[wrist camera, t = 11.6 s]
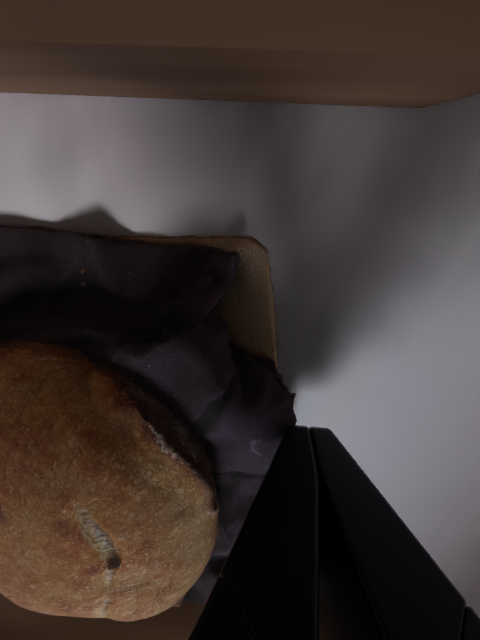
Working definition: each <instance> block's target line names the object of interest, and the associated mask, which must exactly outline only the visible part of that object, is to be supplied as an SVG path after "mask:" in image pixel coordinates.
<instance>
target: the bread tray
mask: <svg viewBox="0 0 480 640" xmlns="http://www.w3.org/2000/svg"><path fill="white" fill-rule="evenodd" d="M0 92H8V93H35V94H61V95H88V96H115V97H141V98H168V99H195V100H221V101H248V102H275V103H301V104H328V105H355V106H381V107H408V108H424V107H427V106H431V105H435V104H439V103H443V102H447V101H451V100H455V99H459V98H463V97H467V96H471V95H475V94H479V93H480V0H0ZM204 606H205V605H199V604H196V603H194V602H186V601H182V602H181V604H180V607H171V608H169V609H167V610H165V611H163V612H161V613H160V614H158V615H155V616H152V617H149V618H145V619H141V620H136V621H130V622H127V621H116V620H112V619H109V618H83V617H70V616H56V615H48V614H43V613H39V612H35V611H31V610H28V609H25V608H22V607H20V606H18V605H16V604H15V603H13V602H12V601H10V600H9V599H8V598H6V597H5V596H4V595H2V594H1V593H0V640H188V638H189V636H190V634H191V632H192V630H193V628H194V626H195V624H196V622H197V620H198V618H199V616H200V614H201V612H202V610H203V608H204Z"/></svg>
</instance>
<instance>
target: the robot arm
mask: <svg viewBox="0 0 480 640" xmlns="http://www.w3.org/2000/svg"><path fill="white" fill-rule="evenodd" d="M188 640H480V618H479V617H478V615H477V614H476V613H475V612H474V610H473V609H472V608H471V607H469V606H467V607H466V601H465V599H464V598H463V597H462V595H461V594H460V593H459V592H458V590H457V589H456V588H455V587H454V585H453V584H452V583H451V582H450V580H449V579H448V578H447V576H446V575H445V574H444V573H443V571H442V570H441V569H440V568H439V566H438V565H437V564H436V563H435V561H434V560H433V559H432V557H431V556H430V555H429V554H428V552H427V551H426V550H425V549H424V547H423V546H422V545H421V544H420V542H419V541H418V540H417V538H416V537H415V536H414V535H413V533H412V532H411V531H410V530H409V528H408V527H407V526H406V525H405V523H404V522H403V521H402V520H401V518H400V517H399V516H398V514H397V513H396V512H395V511H394V509H393V508H392V507H391V506H390V504H389V503H388V502H387V501H386V499H385V498H384V497H383V495H382V494H381V493H380V492H379V490H378V489H377V488H376V487H375V485H374V484H373V483H372V482H371V480H370V479H369V478H368V476H367V475H366V474H365V473H364V471H363V470H362V469H361V468H360V466H359V465H358V464H357V463H356V461H355V460H354V459H353V457H352V456H351V455H350V454H349V452H348V451H347V450H346V449H345V447H344V446H343V445H342V444H341V442H340V441H339V440H338V438H337V437H336V436H335V435H334V433H333V432H332V431H331V430H330V429H328V428H319V427H310V428H308V427H307V426H298V425H289V426H288V427H287V429H286V432H285V434H284V436H283V438H282V440H281V442H280V445H279V447H278V449H277V451H276V453H275V455H274V458H273V460H272V462H271V464H270V466H269V468H268V470H267V473H266V475H265V477H264V479H263V481H262V483H261V486H260V488H259V490H258V492H257V494H256V496H255V499H254V501H253V503H252V505H251V507H250V509H249V512H248V514H247V516H246V518H245V520H244V522H243V525H242V527H241V529H240V531H239V533H238V535H237V538H236V540H235V542H234V544H233V546H232V548H231V551H230V553H229V555H228V557H227V559H226V561H225V564H224V566H223V568H222V570H221V572H220V577H218V578H217V580H216V582H215V584H214V587H213V589H212V591H211V593H210V595H209V597H208V599H207V602H206V604H205V606H204V608H203V610H202V612H201V614H200V616H199V618H198V620H197V622H196V624H195V626H194V628H193V630H192V632H191V634H190V636H189V638H188Z"/></svg>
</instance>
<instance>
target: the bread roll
mask: <svg viewBox="0 0 480 640" xmlns="http://www.w3.org/2000/svg"><path fill="white" fill-rule="evenodd" d="M295 395H296V393H292V394H291V393H290V392H288V389H287V387H286V386H285V385H284V384H283V376H282V375H281V374H280V373H278V358H277V348H276V329H275V311H274V300H273V288H272V283H271V276H270V265H269V260H268V251H267V249H266V248H265V247H264V246H262V245H261V244H260V243H259V242H258V241H257V240H256V239H254V238H248V237H240V236H229V237H224V236H207V237H197V236H184V237H153V236H111V237H110V236H107V235H104V236H102V235H97V234H96V235H85V234H82V235H80V234H79V233H71V232H65V231H60V230H54V229H51V228H46V227H40V226H27V227H20V226H6V225H0V593H1V594H2V595H4V596H5V597H6V598H8V599H9V600H10V601H12V602H13V603H15V604H16V605H18V606H20V607H22V608H25V609H28V610H31V611H35V612H39V613H43V614H48V615H56V616H70V617H83V618H109V619H112V620H116V621H127V622H130V621H136V620H141V619H145V618H149V617H152V616H155V615H158V614H160V613H161V612H163V611H165V610H167V609H169V608H171V607H180V604H181V602H182V601H186V602H194V603H196V604H199V605H205V604H206V602H207V599H208V597H209V595H210V593H211V591H212V589H213V587H214V584H215V582H216V580H217V578H218V577H220V572H221V570H222V568H223V566H224V564H225V561H226V559H227V557H228V555H229V553H230V551H231V548H232V546H233V544H234V542H235V540H236V538H237V535H238V533H239V531H240V529H241V527H242V525H243V522H244V520H245V518H246V516H247V514H248V512H249V509H250V507H251V505H252V503H253V501H254V499H255V496H256V494H257V492H258V490H259V488H260V486H261V483H262V481H263V479H264V477H265V475H266V473H267V470H268V468H269V466H270V464H271V462H272V460H273V458H274V455H275V453H276V451H277V449H278V447H279V445H280V442H281V440H282V438H283V436H284V434H285V432H286V429H287V427H288V426H289V425H295V424H296V421H297V420H296V416H295V414H294V411H293V401H294V397H295Z"/></svg>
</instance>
